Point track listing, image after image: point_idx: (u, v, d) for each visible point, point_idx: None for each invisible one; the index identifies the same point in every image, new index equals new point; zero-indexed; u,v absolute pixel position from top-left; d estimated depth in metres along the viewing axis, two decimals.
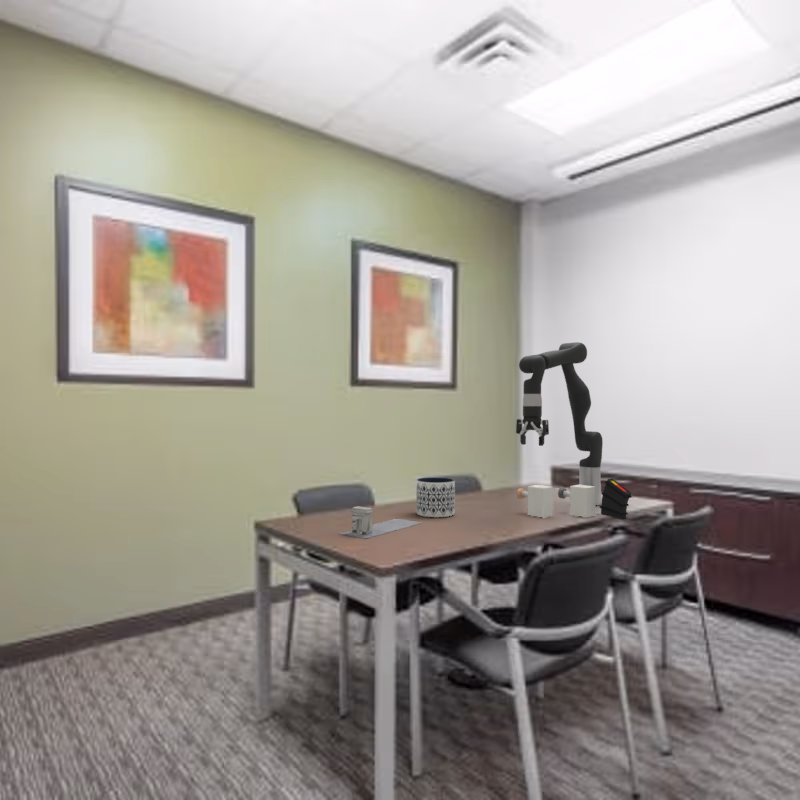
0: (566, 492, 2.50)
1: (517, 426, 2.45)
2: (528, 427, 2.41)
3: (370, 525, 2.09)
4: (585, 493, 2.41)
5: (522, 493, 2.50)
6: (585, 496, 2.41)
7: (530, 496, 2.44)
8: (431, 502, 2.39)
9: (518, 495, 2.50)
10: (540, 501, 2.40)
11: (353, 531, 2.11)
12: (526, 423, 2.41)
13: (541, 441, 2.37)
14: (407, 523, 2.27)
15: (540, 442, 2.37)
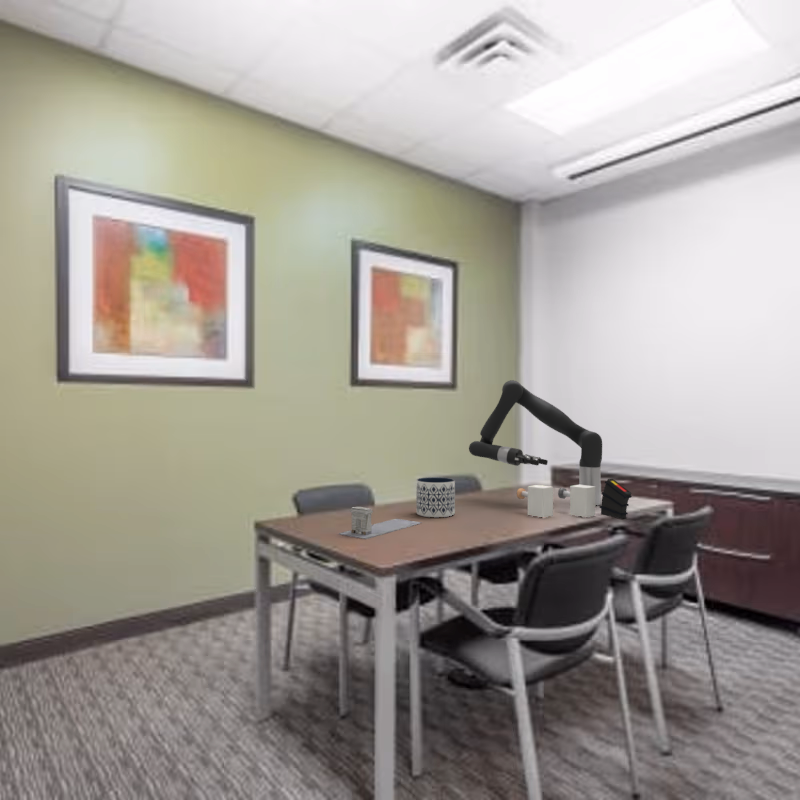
0: (566, 492, 2.50)
1: None
2: None
3: (369, 525, 2.09)
4: (585, 493, 2.41)
5: (522, 493, 2.50)
6: (585, 496, 2.41)
7: (530, 496, 2.44)
8: (431, 502, 2.39)
9: (518, 495, 2.50)
10: (540, 501, 2.40)
11: (352, 531, 2.11)
12: None
13: (533, 464, 2.57)
14: (407, 523, 2.27)
15: (535, 464, 2.57)
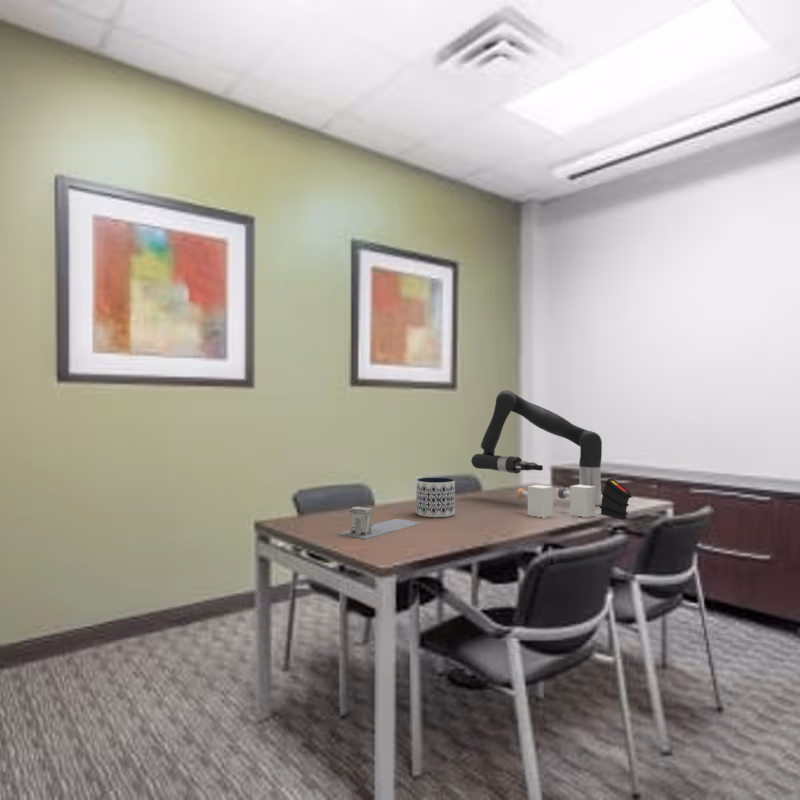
0: (566, 492, 2.50)
1: None
2: None
3: (369, 525, 2.08)
4: (585, 493, 2.41)
5: (522, 493, 2.50)
6: (585, 496, 2.41)
7: (530, 496, 2.44)
8: (431, 502, 2.39)
9: (518, 495, 2.50)
10: (540, 501, 2.40)
11: (352, 531, 2.10)
12: None
13: (537, 469, 2.61)
14: (406, 523, 2.26)
15: (538, 469, 2.61)
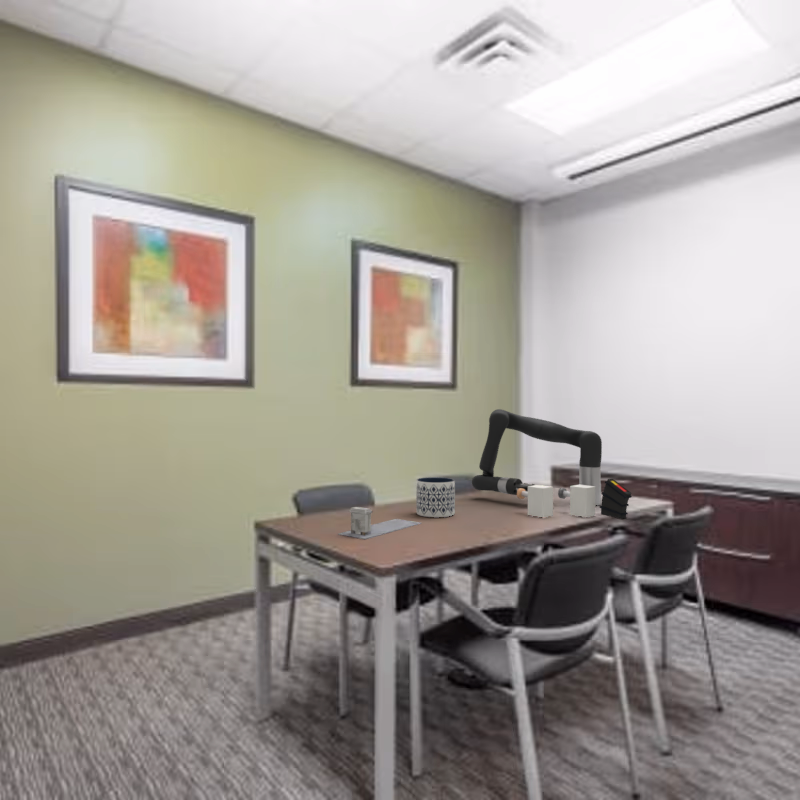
0: (566, 492, 2.50)
1: None
2: None
3: (369, 525, 2.08)
4: (585, 493, 2.41)
5: (522, 493, 2.50)
6: (585, 496, 2.41)
7: (530, 496, 2.44)
8: (431, 502, 2.39)
9: (518, 495, 2.50)
10: (540, 501, 2.40)
11: (352, 531, 2.10)
12: None
13: None
14: (406, 523, 2.26)
15: None
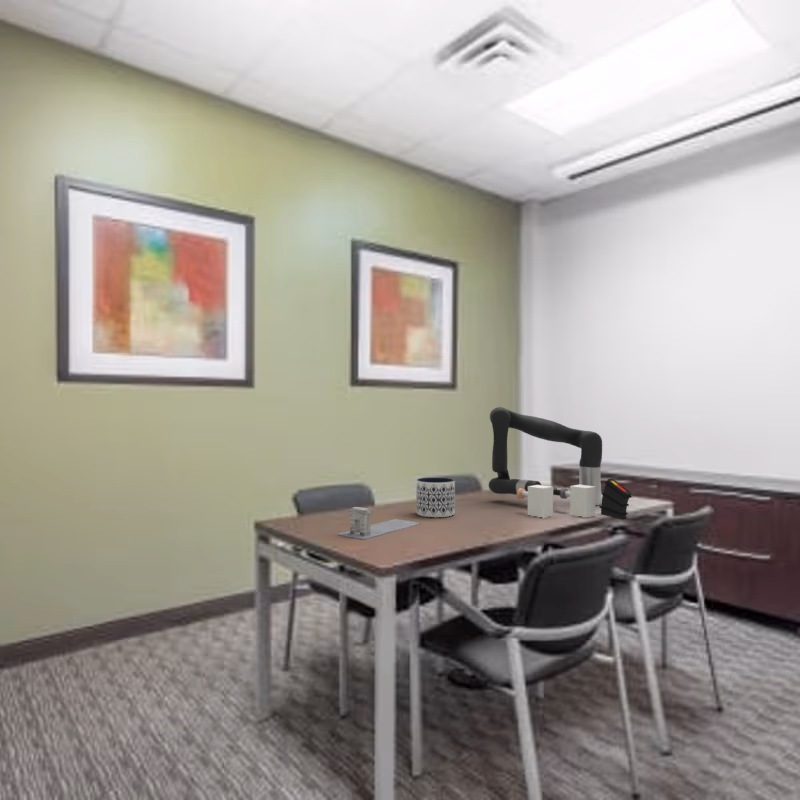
0: (568, 492, 2.50)
1: None
2: None
3: (368, 526, 2.08)
4: (585, 493, 2.41)
5: (522, 493, 2.50)
6: (585, 496, 2.41)
7: (530, 496, 2.44)
8: (431, 502, 2.39)
9: (518, 495, 2.50)
10: (540, 501, 2.40)
11: (351, 532, 2.10)
12: None
13: (557, 494, 2.53)
14: (406, 524, 2.26)
15: (558, 495, 2.53)
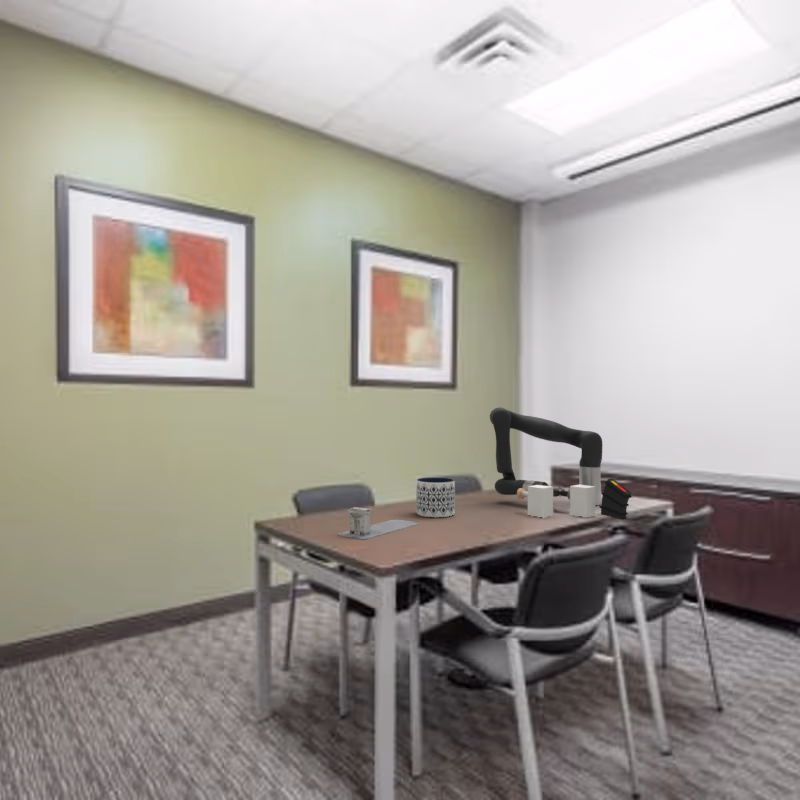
0: None
1: None
2: None
3: (368, 526, 2.08)
4: (585, 493, 2.41)
5: (522, 493, 2.50)
6: (585, 496, 2.41)
7: (530, 496, 2.44)
8: (431, 502, 2.39)
9: (518, 495, 2.50)
10: (540, 501, 2.40)
11: (351, 532, 2.09)
12: None
13: (565, 495, 2.51)
14: (405, 524, 2.26)
15: (566, 496, 2.50)
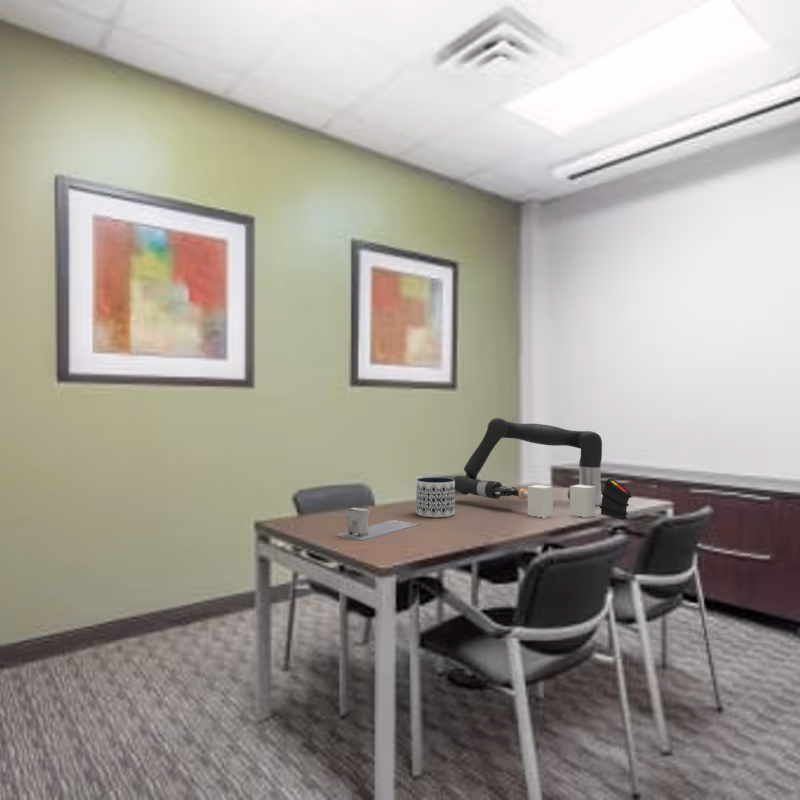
0: None
1: None
2: None
3: (366, 527, 2.06)
4: (585, 493, 2.41)
5: (524, 493, 2.49)
6: (585, 496, 2.41)
7: (530, 496, 2.44)
8: (431, 502, 2.39)
9: (520, 495, 2.49)
10: (540, 501, 2.40)
11: (349, 533, 2.08)
12: None
13: (516, 495, 2.52)
14: (404, 524, 2.24)
15: (518, 495, 2.52)
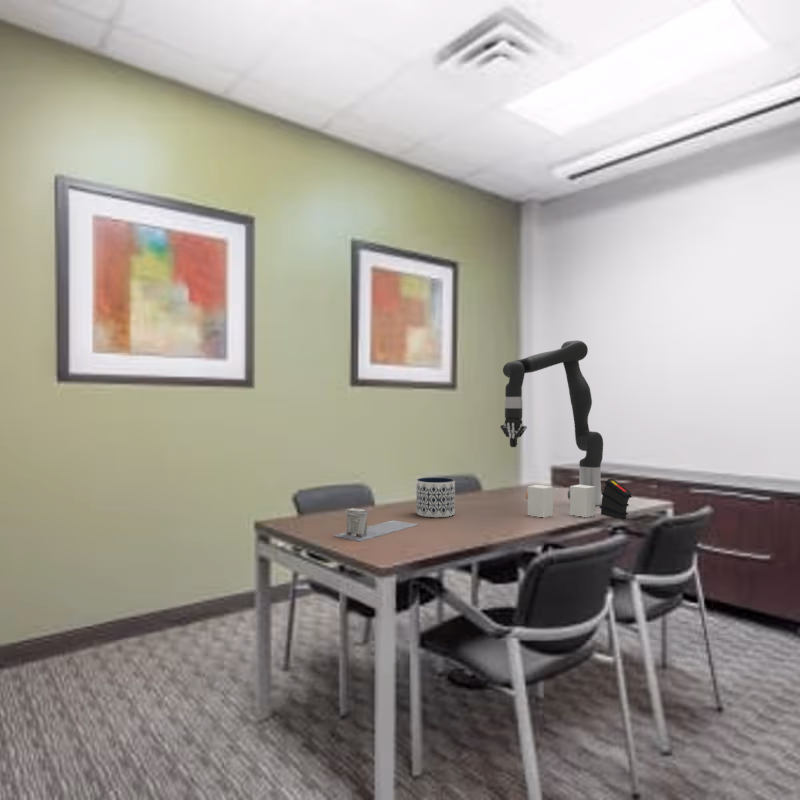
0: None
1: (504, 431, 2.62)
2: (512, 426, 2.59)
3: (364, 527, 2.05)
4: (585, 493, 2.41)
5: None
6: (585, 496, 2.41)
7: (530, 496, 2.44)
8: (431, 502, 2.39)
9: (527, 496, 2.47)
10: (540, 501, 2.40)
11: (347, 533, 2.07)
12: (508, 424, 2.59)
13: (514, 443, 2.58)
14: (403, 525, 2.23)
15: (513, 444, 2.58)
